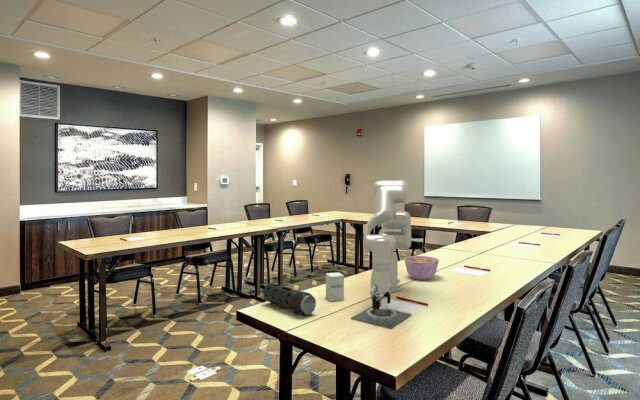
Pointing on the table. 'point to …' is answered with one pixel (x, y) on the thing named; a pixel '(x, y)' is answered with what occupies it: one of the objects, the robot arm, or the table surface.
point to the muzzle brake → (290, 298)
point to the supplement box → (334, 286)
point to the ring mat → (387, 322)
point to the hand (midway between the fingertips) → (381, 305)
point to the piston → (382, 306)
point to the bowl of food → (421, 266)
